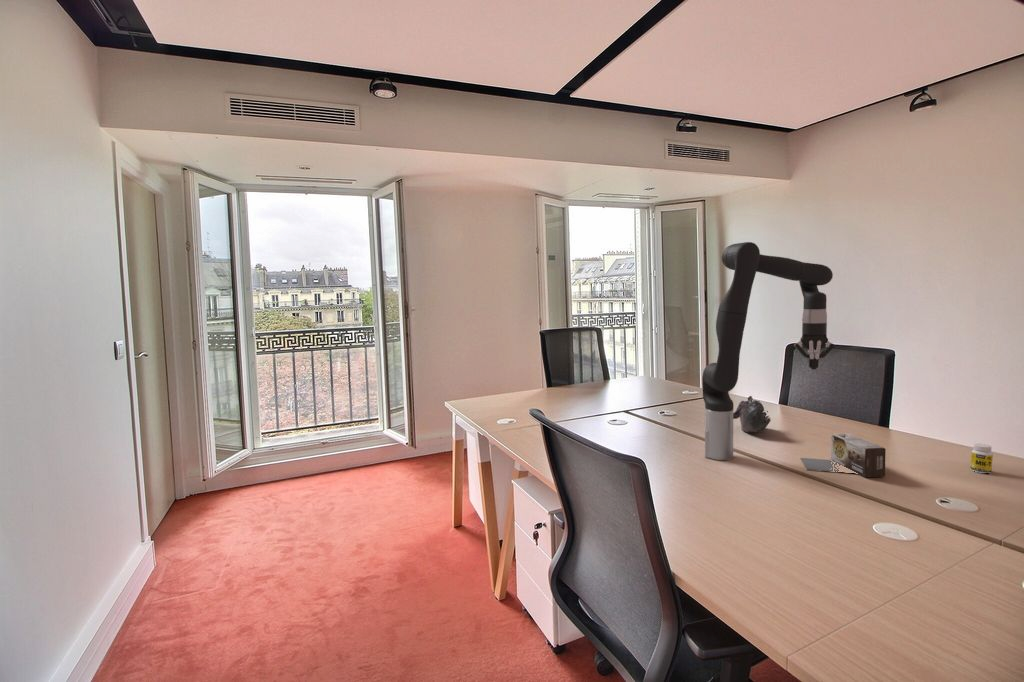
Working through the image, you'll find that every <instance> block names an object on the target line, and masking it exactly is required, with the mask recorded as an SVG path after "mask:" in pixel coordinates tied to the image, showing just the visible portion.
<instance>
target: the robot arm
mask: <svg viewBox="0 0 1024 682" xmlns="http://www.w3.org/2000/svg"><path fill="white" fill-rule="evenodd" d="M721 262H722V264H723V265H724V266H725V267H726V269H729V270H732V271H734V273H733V279H732V282H731V284H730V287H729V288H728V290H727V291H726V293H725V294H724V296H723V298H722V299H721V302H720V303H719V306H718V309H717V315H716V321H715V332H716V337H717V343H718V352H717V353H718V355H717V359H716V362H711V363H709V364H707V365H706V366H705V368H704V369H703V371H702V372H703V373H702V376H701V377H702V378H701V383H702V385H701V386H702V399H703V402H704V408H705V410H704V412H705V413H704V416H705V417H704V418H705V419H704V425H705V427H704V458H708V459H712V460H716V461H717V460H718V461H727V460H732V459H734V419H733V413H734V402H733V400H732V399H731V397H730V393H729V392H730V391H732V390H733V389H734V388H735V386H736V385H737V382H738V380H739V369H740V357H741V355H740V354H741V349H742V348H741V347H742V342H743V338H744V337H743V336H744V333H745V332H744V329H745V326H746V321H747V315H748V309H749V305H750V304H749V303H750V299H751V293H752V289H753V285H754V280H755V277H756V274H757V273H761V274H764V275H765V274H766V275H769V276H772V277H777V278H780V279H781V278H782V279H784V280H789V281H794V282H799V287H800V290H801V293H802V296H803V297H802V298H803V311H802V319H801V321H802V322H801V323H802V325H801V326H802V327H801V329H802V331H801V333H802V334H801V337H800V340H799V341H797V342H795V343H793V346H794V347H795V348H796V349H797V350H798V352H799V353H800V354H801V355H802V356H803V357H804V358H806V359H808V368H809V369H810V370H817V369H818V368H819V362H820V361H819V360H820V359H822V358H825V357H826V356H827V355H828V354H829V353H830V352H831V351H832V350H833V349H834V348H835V344H834V343H832V342H830V341H829V338H828V337H827V332H828V331H827V329H828V328H827V327H828V313H827V294H826V293H825V292H822V291H819V288H818V287H819V286H825V285H827V284H829V283H830V282H831V281H832V280H833V277H834V276H833V273H834V272H833V270H832V269H831V268H830V267H829V266H827V265H824V264H820V263H814V262H813V263H811V262H804V261H800V260H796V259H793V258H789V257H783V256H777V255H775V256H774V255H765V254H761V251H760V248H759V246H758V245H757V244H756V243H755V242H751V241H746V242H738V243H733V244H730V245H728V246H726V247H725V249H723V251H722V253H721ZM803 347H805V349H807V353H806V351H805V350H804V349H803ZM823 347H825V348H824V349H823ZM822 349H823V350H822ZM821 350H822V351H821Z"/></svg>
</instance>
